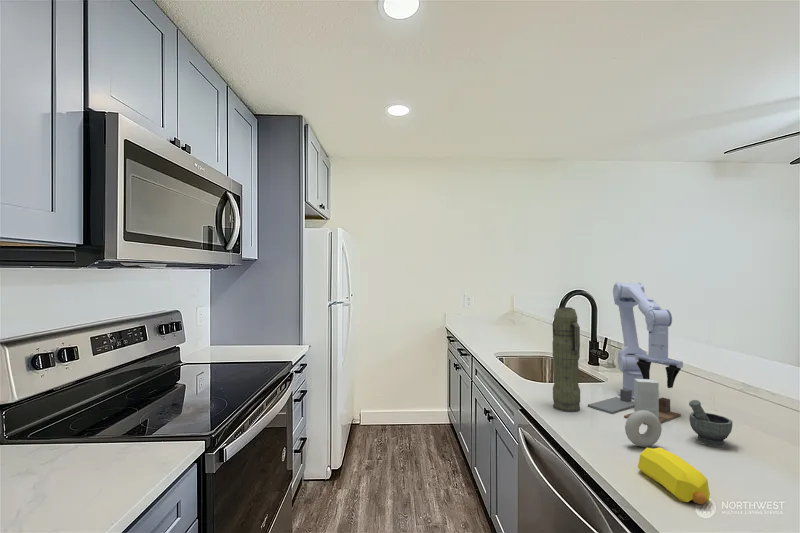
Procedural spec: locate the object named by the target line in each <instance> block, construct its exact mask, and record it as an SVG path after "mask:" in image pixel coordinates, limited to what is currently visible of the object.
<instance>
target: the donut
mask: <svg viewBox="0 0 800 533" xmlns="http://www.w3.org/2000/svg"><path fill="white" fill-rule="evenodd" d="M631 413H632V414H631V415H630V416H629V417H628V418H626V421H625V425H624V431H625V432H624V433H625V435H626V437H627V439H628V440H629V442H631V444H633V445H635V446H637V447H641V448H649V447H651V446H653V445H655V444H656V443H657V442H658V441H659V440H660V437H661V435H662V429H663V428H662V423H660V421H659V419H658V417H657V416H656V415H655V414H653V413H652V412H650V411H646V410H639V411H636V412H634V413H633V412H631ZM644 423H646V424H645V425H647V426H646V427H647V429H646V431H645V432H644V433H640V427H641V425H642V424H644Z"/></svg>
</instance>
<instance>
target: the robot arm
mask: <svg viewBox="0 0 800 533" xmlns="http://www.w3.org/2000/svg"><path fill="white" fill-rule="evenodd" d="M612 294H613V295H612V296H613V302H614V305H616V306H618V311H619V317H620V324H621V331H622V339H623V344H624V347H623V348H622V349H620V350H619V351H618V352H617V366H618V369H619V370H620V371H621V372H622V389H624V388H626V389H630V390H632V400H634V379H650V375H651V374H650V370H651V364H652V363H653V364H658V365H664V366H665V371H666V379H667V381H666V384H667V385H666V386H667V389H673V388H674V383H675V381H676V378H677V376H678V374H679V373H680V371H681V369H682V368H683V367H684V362H683V361H681V360H677V359H674V358H673V359H672V358H669V327H671V326H672V322H673V315H672V313H671V311H670V310H669V309H664V308H662V307H661V306H660V305H659V304H658V303H657V302H656V301H655V300H654V299H653V298H651V297H650V298H649V297H648V296H647V295H646V293H645V286H644V285H643V283H642V282H618V281H617V282H615V283H614V285H613V287H612ZM637 305H638V306H637ZM635 306H637V308H638V309H639V312H641V313H642V315H643V316H644V321H645V324H646V331H647V332H648V353H647V352H646V350H644V349H642V348H641V347H640V346H639V339H638V333H637V325H636V320H635V313H634V307H635ZM647 354H648V355H647ZM617 395H618V396H620V392H618V393H617Z"/></svg>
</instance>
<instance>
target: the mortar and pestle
mask: <svg viewBox="0 0 800 533" xmlns="http://www.w3.org/2000/svg"><path fill="white" fill-rule="evenodd" d="M701 404H702V403H701V401H699V400H698V399H692V400H690V401H689V402H688V406H689V407H690V408H691V410H692V412H691V413H689V417H688V418H689V424H690V427H691V429H692V431H694V433H695V434H697V437H696V441H697V442H699V443H700V444H703V445H705V446H710V447H715V448H720V447H722V448H723V447H725V441H724V440H726V439H727V438H728V437H729V435H730V434H731V433H732V429H733V420H731V419H730V418H728V417H725V416H722V415H719V414H716V413H710V412H705V410H704V409H703V407H702V405H701Z"/></svg>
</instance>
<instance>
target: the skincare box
mask: <svg viewBox="0 0 800 533" xmlns="http://www.w3.org/2000/svg"><path fill="white" fill-rule="evenodd" d="M659 383H660V382H658V381H657V380H655V379H634V399H633V400H634V407H633V408H634V412H636V411H639V410H646V411H650V412H652V413H653V414H655V415H656V416H657V417H658V419H659V395H660V394H659V393H660V392H659Z"/></svg>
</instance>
